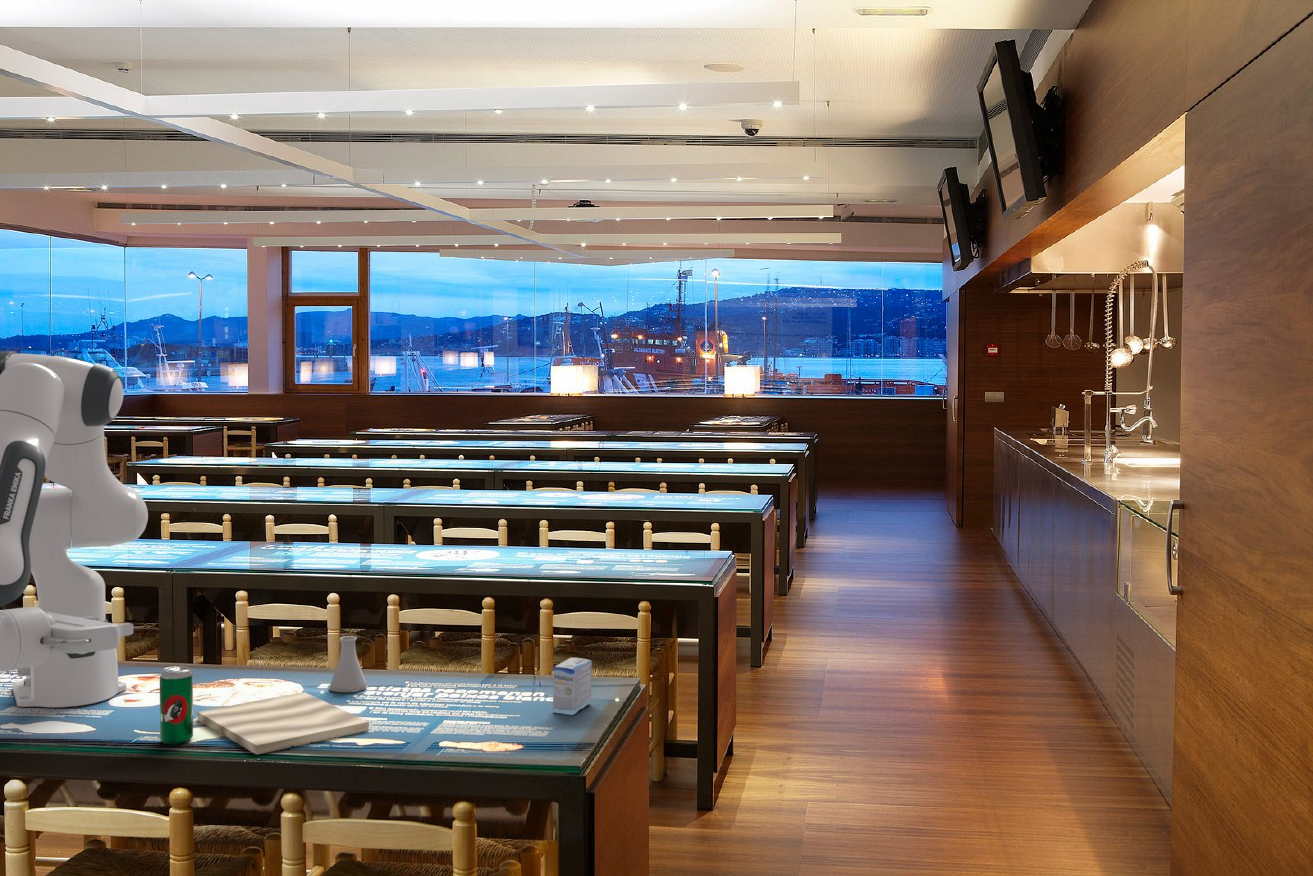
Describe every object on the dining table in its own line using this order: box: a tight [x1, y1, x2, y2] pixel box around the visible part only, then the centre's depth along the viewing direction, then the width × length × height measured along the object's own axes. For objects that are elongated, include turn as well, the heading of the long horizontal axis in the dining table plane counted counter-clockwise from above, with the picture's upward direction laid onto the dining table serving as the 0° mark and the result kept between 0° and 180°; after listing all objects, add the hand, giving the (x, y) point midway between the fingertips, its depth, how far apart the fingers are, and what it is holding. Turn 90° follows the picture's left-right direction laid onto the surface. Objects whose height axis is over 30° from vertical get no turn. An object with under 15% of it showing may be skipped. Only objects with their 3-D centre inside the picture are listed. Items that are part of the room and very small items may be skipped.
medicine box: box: [552, 657, 592, 710], centre depth 218 cm, size 8×4×9 cm, turn 161°
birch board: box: [196, 691, 370, 755], centre depth 205 cm, size 24×20×2 cm
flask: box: [328, 635, 368, 693], centre depth 229 cm, size 7×7×10 cm
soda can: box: [159, 665, 194, 745], centre depth 195 cm, size 5×5×12 cm
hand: (113, 625), depth 186 cm, fingers open, 8 cm apart
